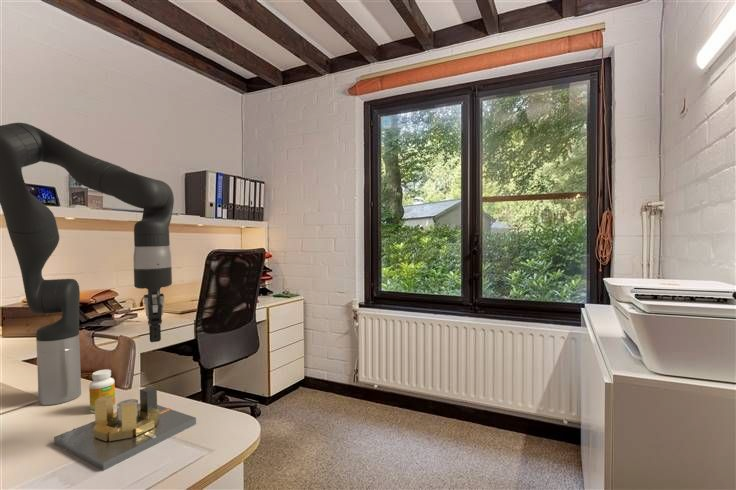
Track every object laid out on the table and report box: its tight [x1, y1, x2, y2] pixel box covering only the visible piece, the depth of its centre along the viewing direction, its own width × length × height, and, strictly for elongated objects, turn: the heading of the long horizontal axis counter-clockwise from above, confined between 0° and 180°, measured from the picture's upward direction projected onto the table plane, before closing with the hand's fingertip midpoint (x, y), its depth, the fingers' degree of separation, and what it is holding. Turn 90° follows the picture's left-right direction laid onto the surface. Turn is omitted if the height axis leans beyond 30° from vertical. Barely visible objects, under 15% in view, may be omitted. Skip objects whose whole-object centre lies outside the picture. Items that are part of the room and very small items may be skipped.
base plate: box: [53, 398, 197, 471], centre depth 85 cm, size 20×20×7 cm
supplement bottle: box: [88, 368, 116, 414], centre depth 98 cm, size 5×5×10 cm
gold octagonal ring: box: [93, 385, 160, 441], centre depth 86 cm, size 12×12×7 cm
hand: (155, 340), depth 87 cm, fingers closed
